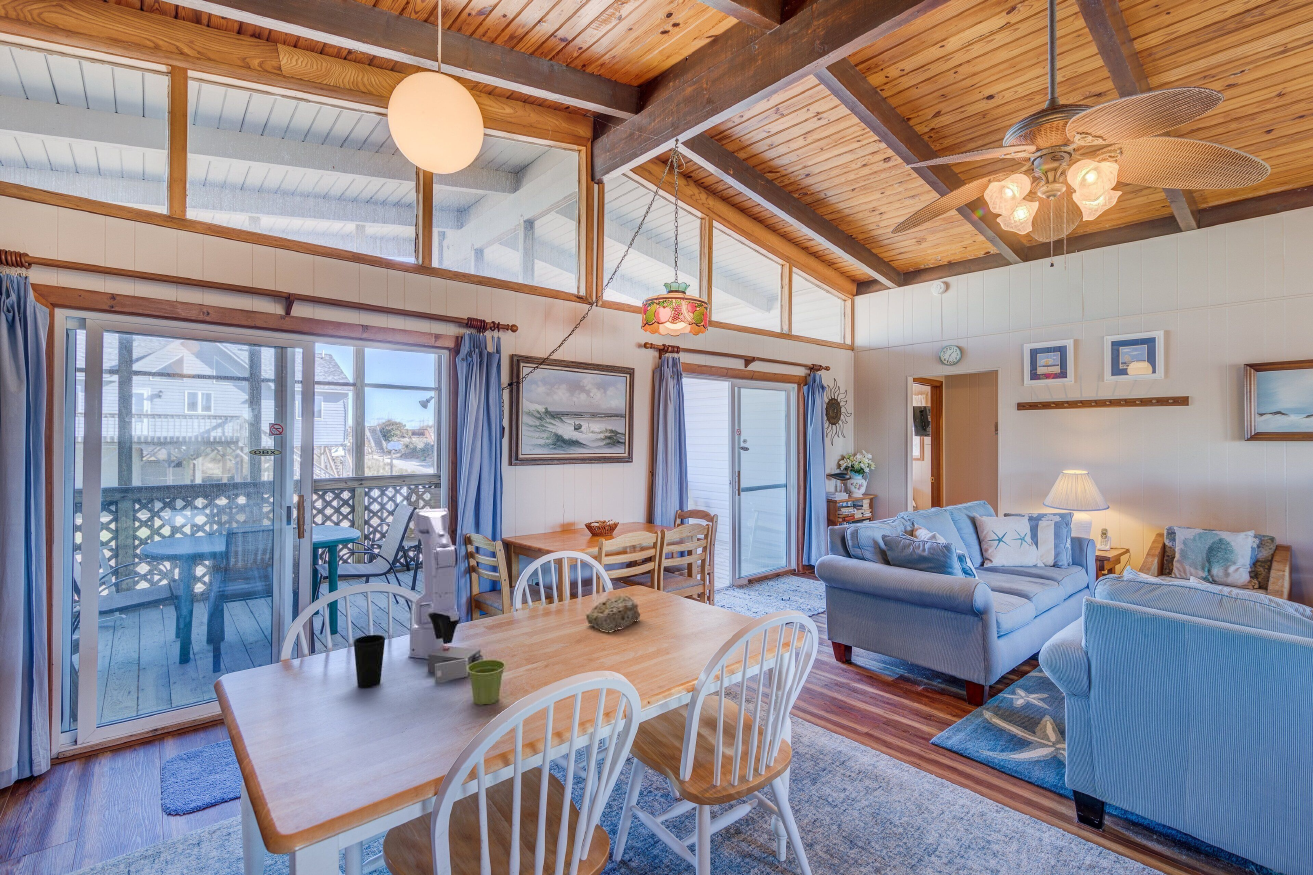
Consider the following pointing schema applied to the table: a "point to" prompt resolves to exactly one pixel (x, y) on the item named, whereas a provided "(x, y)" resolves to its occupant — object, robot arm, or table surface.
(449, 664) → the side door
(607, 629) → the rock
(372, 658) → the cup
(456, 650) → the camera body
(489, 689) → the plant pot
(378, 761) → the table surface
